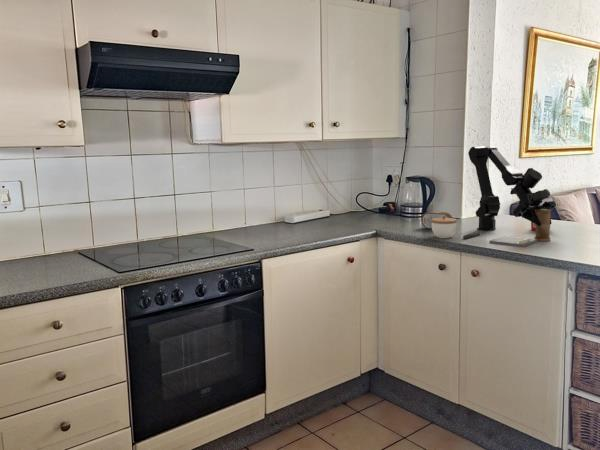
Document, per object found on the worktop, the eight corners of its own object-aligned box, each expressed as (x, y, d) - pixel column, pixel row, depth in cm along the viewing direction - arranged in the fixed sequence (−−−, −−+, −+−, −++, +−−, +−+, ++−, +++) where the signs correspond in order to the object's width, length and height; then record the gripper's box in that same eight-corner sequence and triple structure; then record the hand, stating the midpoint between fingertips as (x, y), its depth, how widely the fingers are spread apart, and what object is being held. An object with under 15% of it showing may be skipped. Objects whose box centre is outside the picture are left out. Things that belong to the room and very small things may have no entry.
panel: (489, 243, 217) (489, 240, 217) (503, 238, 226) (503, 235, 226) (523, 246, 207) (523, 244, 207) (537, 241, 216) (537, 239, 216)
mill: (531, 240, 220) (532, 210, 218) (537, 238, 224) (538, 208, 222) (546, 242, 216) (548, 211, 214) (552, 239, 220) (553, 209, 218)
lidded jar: (427, 238, 233) (427, 216, 231) (436, 234, 242) (436, 213, 240) (451, 239, 227) (451, 218, 225) (459, 235, 236) (460, 214, 234)
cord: (465, 239, 226) (465, 235, 226) (462, 239, 227) (462, 235, 227) (480, 235, 235) (480, 231, 235) (477, 234, 237) (477, 231, 236)
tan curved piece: (453, 229, 251) (453, 212, 250) (451, 230, 249) (451, 213, 248) (423, 227, 260) (423, 210, 259) (420, 228, 258) (420, 211, 256)
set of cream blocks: (519, 243, 210) (519, 240, 209) (527, 240, 215) (527, 237, 215) (522, 243, 209) (523, 240, 208) (530, 240, 214) (530, 237, 214)
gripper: (519, 184, 216) (540, 214, 208) (553, 181, 223) (574, 210, 215) (504, 201, 225) (523, 231, 216) (537, 198, 232) (557, 227, 223)
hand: (545, 224), depth 217 cm, fingers closed on mill, 5 cm apart
